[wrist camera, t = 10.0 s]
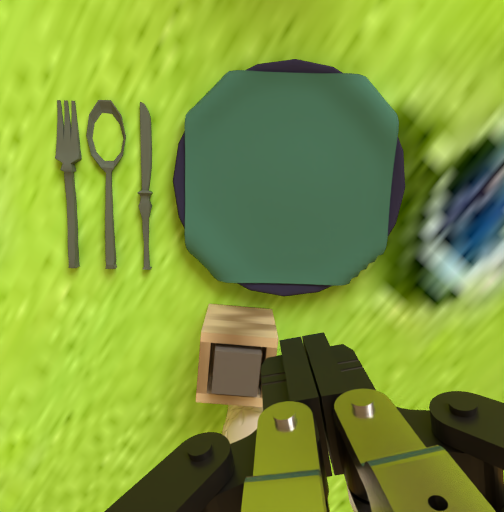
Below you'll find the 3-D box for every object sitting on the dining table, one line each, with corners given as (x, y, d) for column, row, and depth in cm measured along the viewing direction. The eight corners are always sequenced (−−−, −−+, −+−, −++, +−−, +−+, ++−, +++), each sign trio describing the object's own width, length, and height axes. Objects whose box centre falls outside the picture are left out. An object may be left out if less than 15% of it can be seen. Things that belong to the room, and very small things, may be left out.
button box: (272, 309, 36) (278, 338, 30) (265, 367, 38) (270, 407, 31) (208, 303, 36) (201, 331, 30) (204, 362, 37) (195, 402, 31)
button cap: (260, 341, 32) (261, 354, 29) (256, 380, 33) (257, 396, 30) (217, 337, 32) (214, 350, 29) (213, 377, 32) (211, 393, 30)
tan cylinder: (250, 362, 38) (252, 427, 28) (314, 402, 39) (338, 479, 29) (205, 421, 39) (193, 504, 29) (269, 459, 40) (277, 551, 30)
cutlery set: (386, 293, 37) (395, 300, 34) (70, 284, 36) (58, 291, 34) (408, 70, 33) (420, 61, 31) (57, 57, 33) (42, 48, 30)
